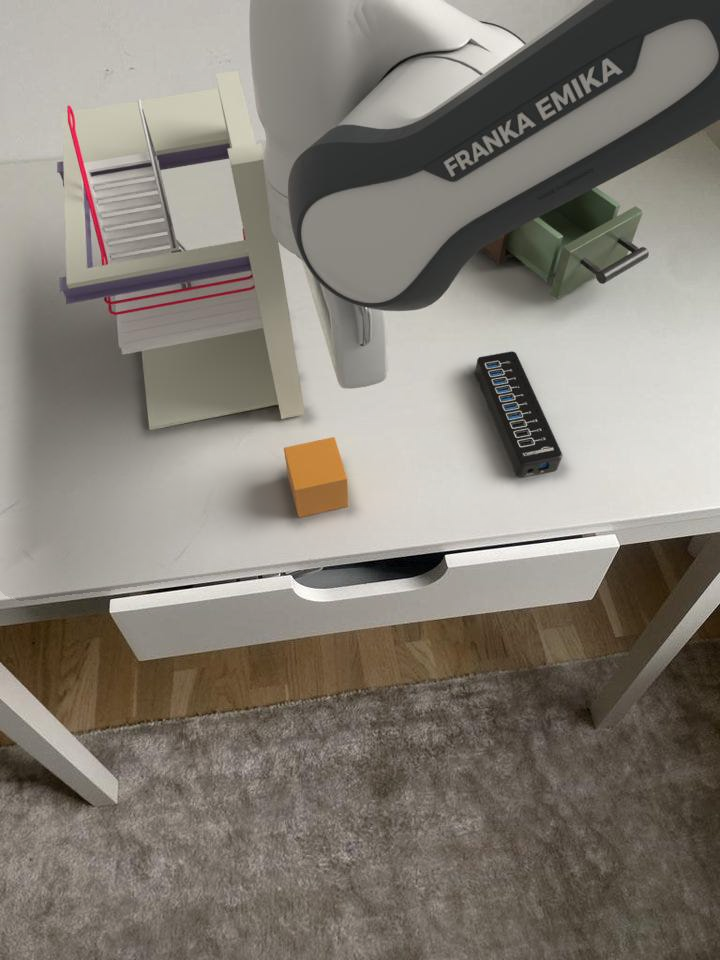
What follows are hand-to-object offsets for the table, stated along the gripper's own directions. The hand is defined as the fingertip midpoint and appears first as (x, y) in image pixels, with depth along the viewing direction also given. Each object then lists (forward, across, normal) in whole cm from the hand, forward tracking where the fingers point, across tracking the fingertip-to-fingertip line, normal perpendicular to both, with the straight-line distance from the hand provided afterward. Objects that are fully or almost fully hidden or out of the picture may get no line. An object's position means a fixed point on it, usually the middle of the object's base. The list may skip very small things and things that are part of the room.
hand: (336, 339), depth 65 cm
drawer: (+15, +21, -32) cm, 41 cm away
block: (+16, -5, +3) cm, 17 cm away
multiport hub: (+16, -1, -19) cm, 25 cm away
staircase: (+16, +19, +12) cm, 27 cm away
